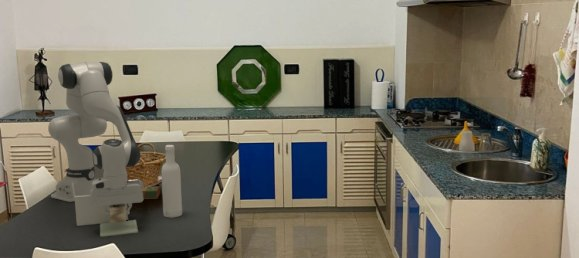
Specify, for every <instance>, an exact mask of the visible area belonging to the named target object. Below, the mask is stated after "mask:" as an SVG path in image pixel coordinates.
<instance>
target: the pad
mask: <svg viewBox="0 0 579 258" xmlns="http://www.w3.org/2000/svg"><path fill="white" fill-rule="evenodd" d="M137 224H138V223H137V220H136V219H133V220H132V219H131V220H128V221H126V222H119V223H110V222H109V223H100V224H99V237H101V238H102V237H109V236H119V235H127V234H128V235H129V234H137V233H139V230H138V225H137Z"/></svg>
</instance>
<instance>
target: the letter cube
mask: <svg viewBox="0 0 579 258" xmlns="http://www.w3.org/2000/svg"><path fill="white" fill-rule="evenodd" d="M109 209H110V222H109V223H119V222H126V207H125V204H119V205H109Z"/></svg>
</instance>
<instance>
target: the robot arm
mask: <svg viewBox="0 0 579 258" xmlns="http://www.w3.org/2000/svg"><path fill="white" fill-rule="evenodd" d="M57 77H58V81H59V83H60V86H61V87H63V88H64V89H66V91H65V92H66V95H65V97H66V99H65V100H66V101H65V104H66V107H67V109H69V110H70V111H71V112H73V113H75V114H74V115H73V114H72V115H61V116H58V117H55V118H52V119H51V120H50V121H49V123H48V126H47V127H48V133H49V135H50V137H51V138H52V139H54V140H55V141H57V142H58V143H60V144H61V145H62V147H63V149H65V150H64V151H65V153H66V156H67V163H68V165H67V166H68V168H66V169H64V173H66V175H65V176H64V177H62V179H61V180H59V181H58V182H57V183H56V184H55V191H54V192H53V193H51V195H50V198H51V199H57V200H61V201H64V202H68V203H71V202H72V203H73V202H75V196H82V195H90V205H91V206H92V207H99V206H103V210H104V211H105V212H106V217H107V216H110V211H107V209H106V206H109V205H119V204H127V209H126V214H128V215H130V210H131V209H132V206H133V204H137V203H143V201H144V199H143V193H142V189H143V187H144V182H143V181H142V180H141V179H139V178H135V179H128V171H127V168H131V167H132V168H133V167H135V166H136V165H138V163H139V162H140V160H141V156H142V155H141V150H140V148H139V146H138V144H137V142H136V141H135V138H134V136H133V134H132V133H133V132H132V130H131V128H130V126H129V123H128V121H127V118H126V116H125V114H124V111H123V110H122V108H121V107H120V106H118V105H117V104H116V103H115V102H114V101H113V99H112V98H111V95H110V92H109V88H108V86H110V84H111V83H112V81H113V70H112V67H111V65H110V64H109V63H108V62H105V61H99V62H98V61H97V62H95V61H85V62H84V61H83V62H76V63H75V62H74V63H66V64H63V65H61V66H60V67H59V69H58V73H57ZM108 122H109V123H112V124H113V125H114V126H115V127H116V129H117V132H118V135H119V137H120V139H121V140H120V139H117V138H109V139H106V140H103V142H102V145H99V146H96V147H95V149H94V150H92V149H91V148H90V147H89V146H86V145H84V144H82V143H80V142H79V140H80V139H86V138H95V137H98V136H101V135H103V134H104V133H106V132H107V131H106V130H107V127H108ZM96 168H97V169H99V170H103V175H102V176H101V177H97V178H96Z"/></svg>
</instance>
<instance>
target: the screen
mask: <svg viewBox="0 0 579 258" xmlns="http://www.w3.org/2000/svg"><path fill="white" fill-rule="evenodd" d="M74 205H75V207H74V208H75V218H76V221H75V222H76V227H79V226H89V225H98V224H99V225H100V224H102V223H110V216H107V217H106V212H105V211H104V210H103V206H99V207H92V206H91V205H90V195H82V196H75V201H74ZM125 207H126V209H128V204H125ZM106 209H107V211H110V209H109V206H106ZM126 220H128V221H129V214H126Z"/></svg>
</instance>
